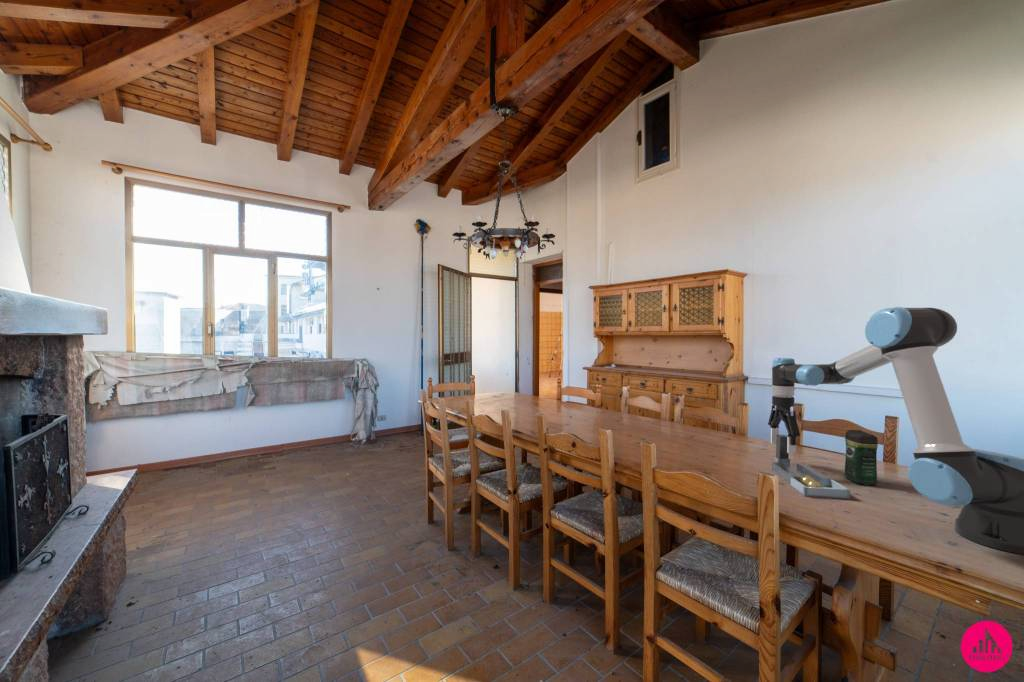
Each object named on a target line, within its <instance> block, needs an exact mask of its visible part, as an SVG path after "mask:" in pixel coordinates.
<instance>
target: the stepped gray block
mask: <svg viewBox="0 0 1024 682" xmlns="http://www.w3.org/2000/svg"><path fill="white" fill-rule="evenodd" d="M787 438H788V437H787V434H779V435H776V444H775V456H774V459H773V462H780V463H782V464H783V465H785V466H787V467H791V458H789V454H790V453H787Z"/></svg>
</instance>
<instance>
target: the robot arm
mask: <svg viewBox="0 0 1024 682" xmlns="http://www.w3.org/2000/svg"><path fill="white" fill-rule="evenodd" d="M957 332H958V323H957V321H956V319H955V318H954V317H953V316H952V314H950V313H949V312H948V311H946V310H943V309H940V308H935V307H903V306H895V307H888V308H882V309H880V310H878V311H876V312H874V313H873V314H872V315H871V316H870V317H869V320H868V321H866V324H865V329H864V334H865V335H864V336H865V338H866V340H867V342H869V344H870V345H868V346H866V347H864V348H861V349H860V350H857V351H856V352H853V353H851V354H849V355H847V356H844V357H843V358H840V359H838V360H835V362H833V363H827V364H824V363H823V364H822V363H820V364H803V363H802V364H801V363H800V364H797V363H796V362H795V359H794V358H792V357H775V358H773V360H772V366H771V372H772V373H771V382H772V384H771V395H772V396H771V404H772V405H771V411H770V414H769V418H768V422H767V425H768V426H769V427H770V444H772V445H776V435H780V429H779V428H780V426H779V425H780V424H781V422H784V426H785V429H786V431H787V434H786V436H787V437H788V438H787V453H789V454H797V437H800V436H801V433H800V430H799V426H798V421H797V416H796V410H791V408H793V407H795V397H794V396H795V390H796V388H795V385H796V384H798V385H805V386H806V387H808V386H818V385H844V384H849V383H852V382H853V381H854V379H855V377H858V376H861V375H864V374H865V373H867V372H870V371H873V370H875V369H877V368H880V367H883V366H885V365H888V364H889V363H891V364H892V367H893V370H894V373H895V376H896V379H897V382H898V385H899V388H900V391H901V392H900V393H901V395H902V398H903V402H904V404H905V408H906V411H907V414H908V417H909V420H910V424H911V427H912V429H913V432H914V436H915V440H916V442H917V446H916V447H915V448H914V450H913V451H912V454H913V456H914V457H913V458H914V461H912V462H911V463H910V466H909V467H908V469H907V475H908V479H909V481H910V483H911V484H912V486H913V488H914V489H915V490H916V492H918V493H919V494H920V495H922V496H923V497H924V498H926V499H927V500H929V501H931V502H933V503H935V504H938V505H942V506H957V507H958V506H959V507H962V508H961V510H960V512H959V515H958V517H957V518H956V519H954V531H955V532H956V533H958V535H960V536H962V537H963V538H965V539H967V540H969V541H972V542H974V543H978V544H979V545H982V546H984V547H985V546H986V547H989V548H992V549H995V550H1000V551H1003V552H1009V553H1014V554H1020V555H1024V458H1022V457H1018V456H1014V455H1010V454H1005V453H1000V452H995V451H989V450H984V449H979V448H978V449H976V448H972V447H970V446H968V445H967V444H965V443H964V441H963V438H962V436H961V433H960V430H959V426H958V423H957V421H956V418H955V416H954V412H953V410H952V407H951V404H950V401H949V398H948V396H947V392H946V390H945V387H944V384H943V381H942V379H941V375H940V373H939V371H938V367H937V364H936V361H935V359H934V354H935V353H936V352H937V350H938V349H939V348H940V347H943V346H944V345H947V344H948V343H950V342H951V341H952V340H953V339H954V338H955V336H956V335H957Z"/></svg>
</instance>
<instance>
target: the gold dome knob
mask: <svg viewBox="0 0 1024 682" xmlns="http://www.w3.org/2000/svg"><path fill="white" fill-rule="evenodd" d="M805 486H806V487H821V488H823V486H822V484H821V483H819V482H817V481H815V480H812V479H809V480H807V481H806V482H805Z"/></svg>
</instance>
